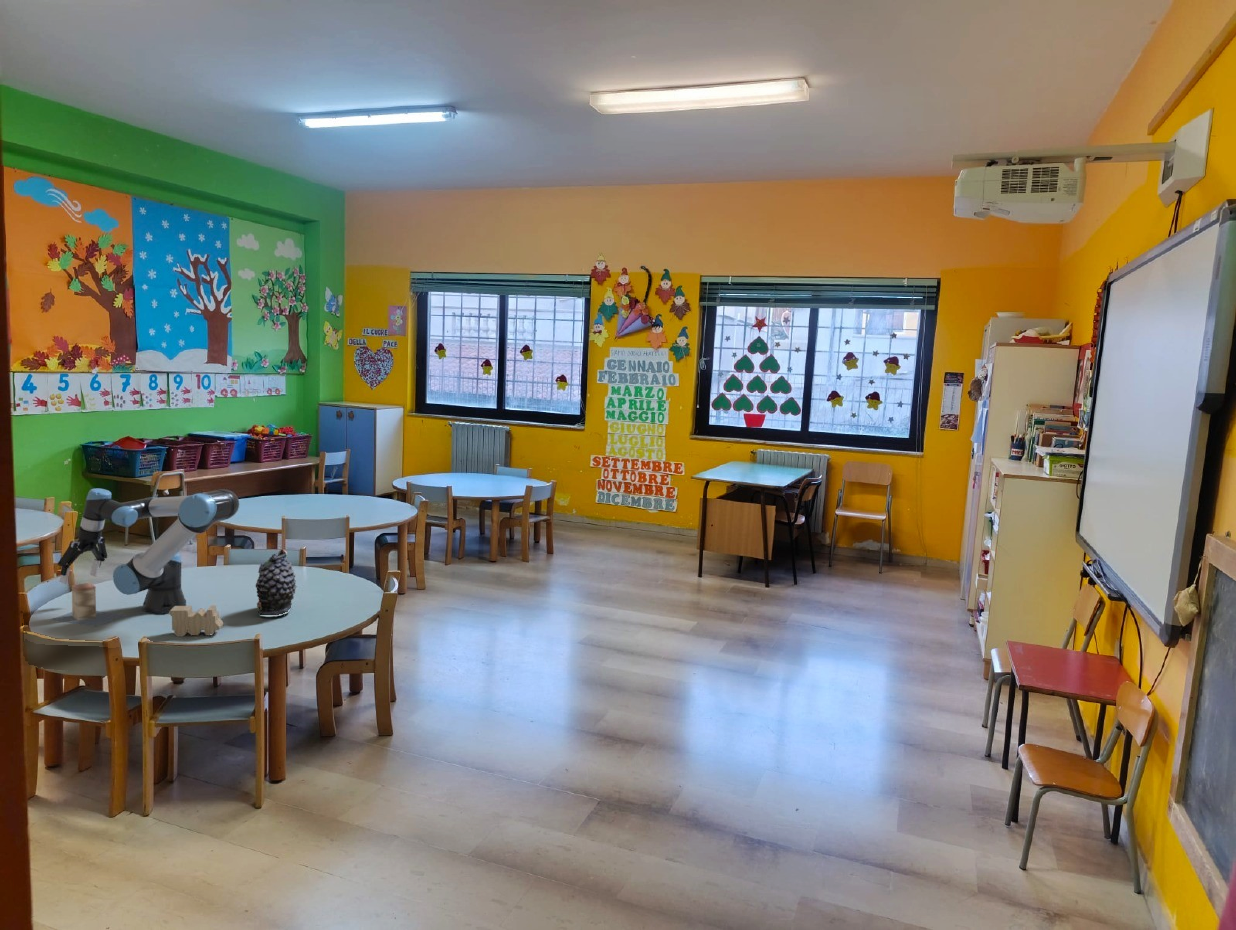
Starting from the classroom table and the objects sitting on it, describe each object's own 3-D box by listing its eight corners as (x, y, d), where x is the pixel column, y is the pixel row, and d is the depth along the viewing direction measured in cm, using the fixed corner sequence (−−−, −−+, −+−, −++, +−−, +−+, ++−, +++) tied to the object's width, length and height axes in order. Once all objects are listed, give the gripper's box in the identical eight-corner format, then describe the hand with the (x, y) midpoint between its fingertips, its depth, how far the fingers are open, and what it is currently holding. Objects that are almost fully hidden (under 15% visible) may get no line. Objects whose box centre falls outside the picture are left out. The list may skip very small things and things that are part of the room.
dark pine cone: (260, 604, 335) (260, 545, 332) (298, 604, 339) (299, 546, 336) (250, 620, 315) (251, 558, 312) (291, 620, 319) (292, 558, 316)
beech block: (90, 613, 310) (90, 582, 309) (95, 617, 306) (95, 586, 305) (72, 616, 306) (71, 585, 304) (77, 620, 302) (77, 589, 300)
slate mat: (126, 616, 311) (126, 615, 311) (96, 627, 297) (96, 626, 297) (81, 609, 314) (81, 608, 314) (50, 620, 301) (50, 619, 301)
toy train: (219, 636, 297) (219, 609, 296) (168, 636, 293) (168, 610, 292) (223, 631, 302) (223, 605, 301) (173, 631, 298) (173, 605, 297)
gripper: (110, 520, 322) (97, 569, 325) (54, 529, 298) (41, 582, 301) (125, 526, 321) (112, 576, 324) (70, 536, 296) (57, 589, 299)
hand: (78, 579), depth 312 cm, fingers open, 13 cm apart
